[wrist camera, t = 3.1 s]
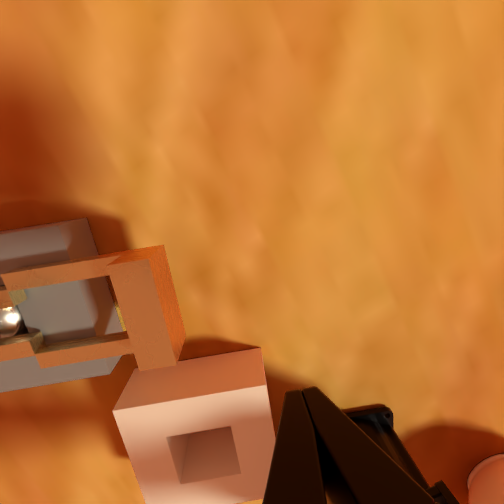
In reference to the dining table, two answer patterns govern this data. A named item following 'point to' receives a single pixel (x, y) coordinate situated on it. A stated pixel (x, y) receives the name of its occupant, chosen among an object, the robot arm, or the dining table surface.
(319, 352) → the dining table surface
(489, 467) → the lidded jar
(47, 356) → the brass guide bars
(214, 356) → the square hole block
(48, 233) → the socket block
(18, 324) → the steel pin
